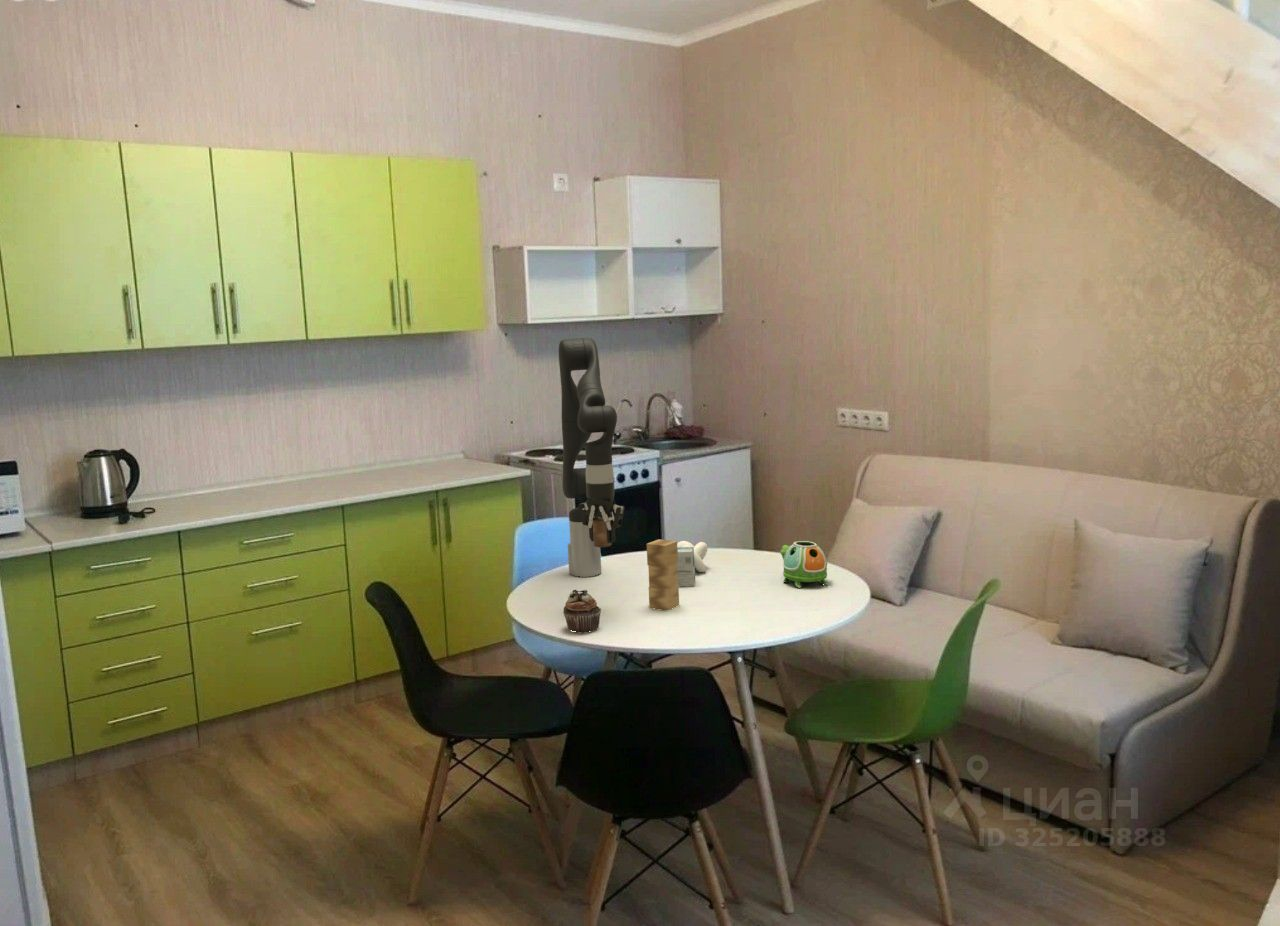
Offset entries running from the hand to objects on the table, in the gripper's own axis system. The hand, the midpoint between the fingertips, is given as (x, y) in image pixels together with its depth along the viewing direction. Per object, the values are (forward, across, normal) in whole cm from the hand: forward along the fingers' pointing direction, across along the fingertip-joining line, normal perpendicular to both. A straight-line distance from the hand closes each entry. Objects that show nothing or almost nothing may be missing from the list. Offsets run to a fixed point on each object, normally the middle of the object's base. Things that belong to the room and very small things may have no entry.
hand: (602, 541), depth 279 cm
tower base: (+19, +14, +8) cm, 25 cm away
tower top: (+7, +14, +8) cm, 18 cm away
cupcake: (+19, +4, -18) cm, 26 cm away
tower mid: (+13, +14, +8) cm, 21 cm away
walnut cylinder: (+1, 0, 0) cm, 1 cm away
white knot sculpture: (+20, +2, +45) cm, 49 cm away
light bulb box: (+19, +6, +30) cm, 36 cm away
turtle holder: (+19, +39, +46) cm, 63 cm away
